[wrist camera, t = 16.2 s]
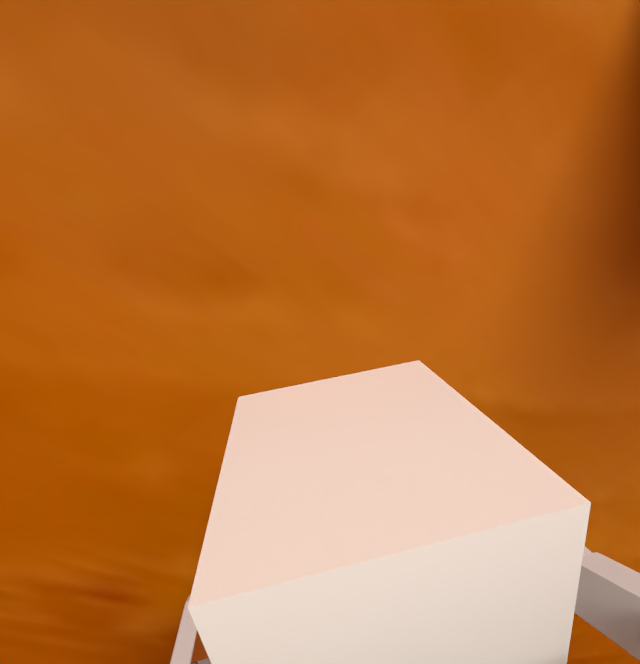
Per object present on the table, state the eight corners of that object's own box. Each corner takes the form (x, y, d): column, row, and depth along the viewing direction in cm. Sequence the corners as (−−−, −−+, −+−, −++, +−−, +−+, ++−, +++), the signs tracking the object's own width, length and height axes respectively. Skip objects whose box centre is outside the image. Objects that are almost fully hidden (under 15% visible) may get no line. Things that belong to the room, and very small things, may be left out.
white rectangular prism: (418, 360, 12) (590, 503, 5) (426, 499, 14) (557, 722, 7) (238, 396, 11) (187, 607, 5) (275, 536, 13) (275, 814, 7)
